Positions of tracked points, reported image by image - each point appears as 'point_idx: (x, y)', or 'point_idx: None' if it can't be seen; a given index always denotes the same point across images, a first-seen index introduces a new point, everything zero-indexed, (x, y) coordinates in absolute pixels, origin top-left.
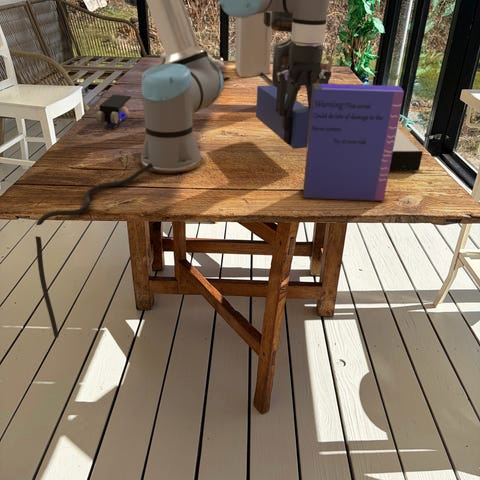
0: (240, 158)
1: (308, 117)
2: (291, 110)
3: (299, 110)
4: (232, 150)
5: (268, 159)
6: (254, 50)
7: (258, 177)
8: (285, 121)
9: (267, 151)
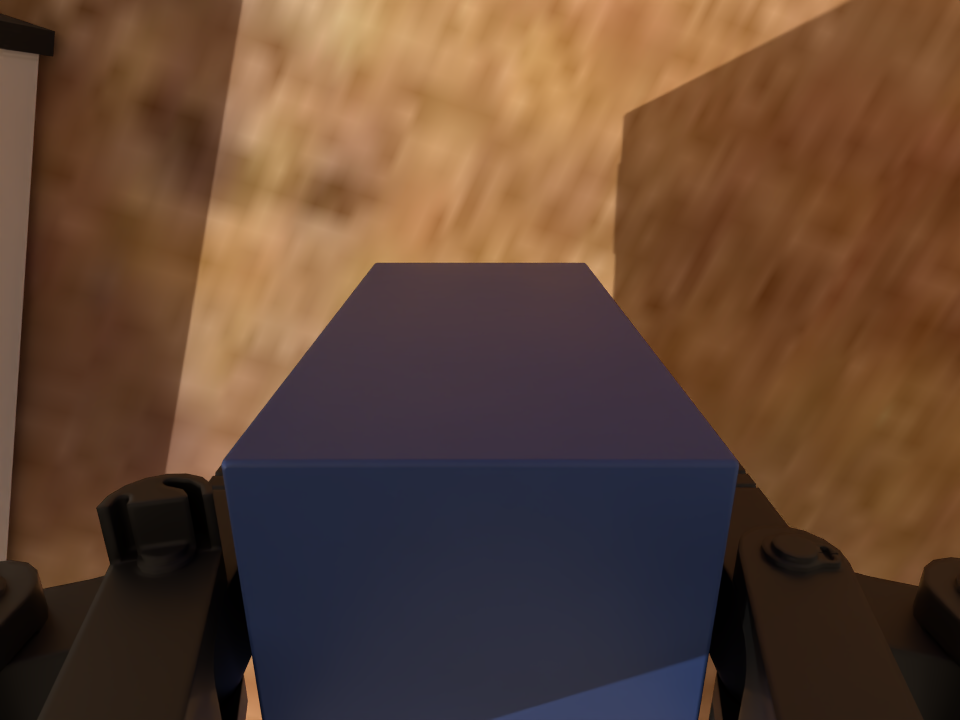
0: (806, 528)
1: (399, 408)
2: (781, 639)
3: (555, 634)
4: None
5: None
6: None
7: (884, 157)
8: (766, 516)
9: None
